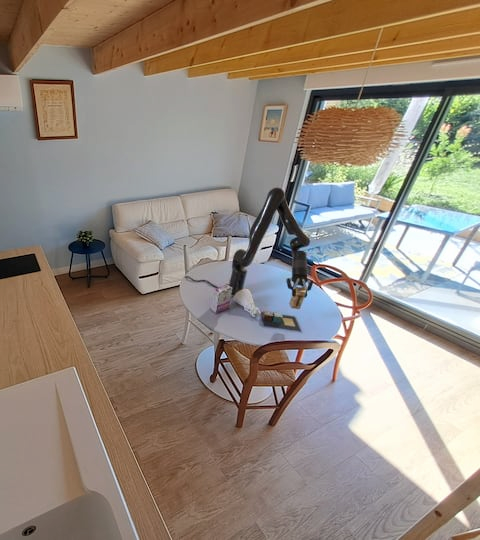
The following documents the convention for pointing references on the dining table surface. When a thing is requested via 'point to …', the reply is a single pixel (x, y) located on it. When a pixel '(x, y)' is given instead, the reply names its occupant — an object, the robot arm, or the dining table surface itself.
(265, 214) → the robot arm
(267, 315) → the letter block
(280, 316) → the letter block
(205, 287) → the dining table surface
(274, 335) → the dining table surface
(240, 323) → the dining table surface
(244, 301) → the rocket engine
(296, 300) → the tan rectangular block
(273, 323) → the word mat
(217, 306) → the candy bar box
